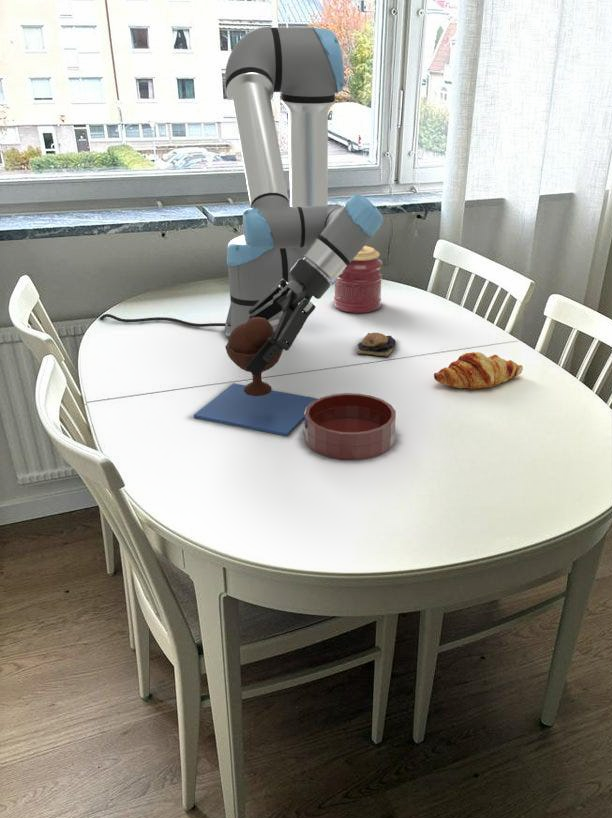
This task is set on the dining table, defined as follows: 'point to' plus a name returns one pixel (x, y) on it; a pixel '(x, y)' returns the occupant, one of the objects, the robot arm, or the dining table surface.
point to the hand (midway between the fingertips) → (241, 360)
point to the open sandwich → (376, 344)
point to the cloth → (257, 410)
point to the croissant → (477, 371)
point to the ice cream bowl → (251, 350)
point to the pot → (350, 426)
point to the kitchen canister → (360, 283)
